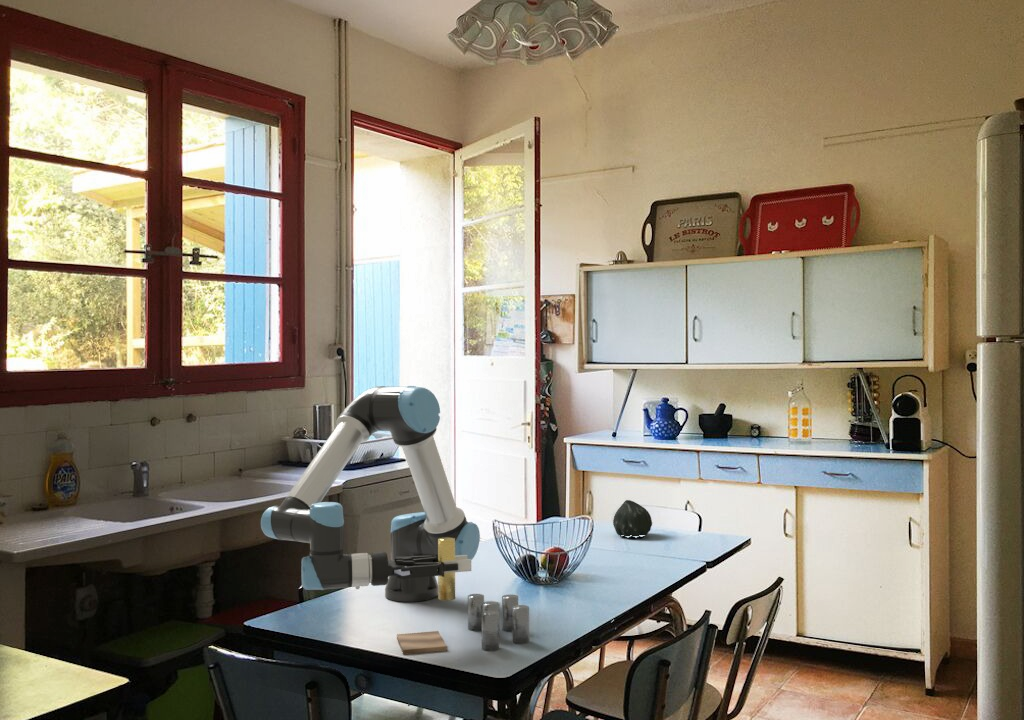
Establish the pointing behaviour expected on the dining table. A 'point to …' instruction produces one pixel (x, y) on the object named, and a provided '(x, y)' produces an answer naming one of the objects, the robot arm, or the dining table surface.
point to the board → (421, 642)
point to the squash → (632, 520)
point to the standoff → (448, 581)
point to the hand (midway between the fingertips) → (468, 562)
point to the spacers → (498, 620)
